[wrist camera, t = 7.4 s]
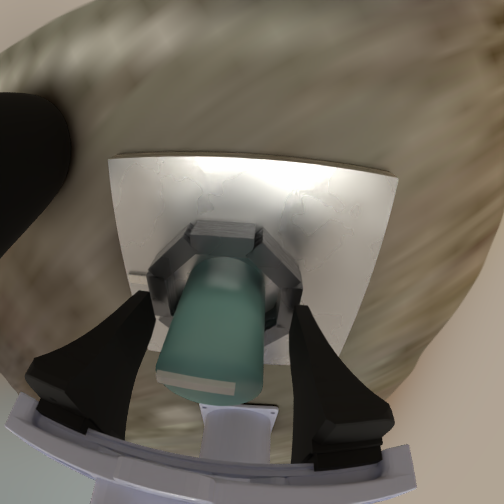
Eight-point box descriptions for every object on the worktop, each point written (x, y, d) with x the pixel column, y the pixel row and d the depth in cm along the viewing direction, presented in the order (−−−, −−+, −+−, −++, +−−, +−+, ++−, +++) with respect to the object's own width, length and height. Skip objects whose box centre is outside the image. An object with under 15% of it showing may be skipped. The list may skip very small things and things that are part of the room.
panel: (332, 353, 20) (337, 381, 17) (153, 338, 20) (142, 365, 18) (389, 171, 12) (412, 188, 10) (119, 153, 13) (91, 167, 10)
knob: (271, 262, 14) (271, 365, 9) (259, 322, 16) (255, 416, 11) (186, 252, 14) (145, 346, 9) (188, 312, 16) (161, 401, 11)
